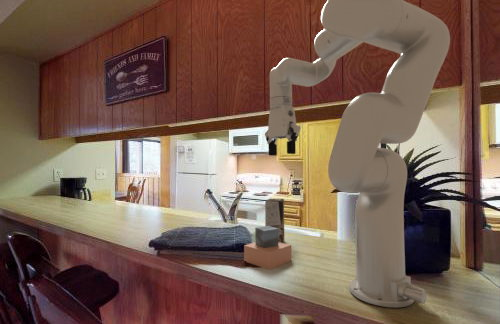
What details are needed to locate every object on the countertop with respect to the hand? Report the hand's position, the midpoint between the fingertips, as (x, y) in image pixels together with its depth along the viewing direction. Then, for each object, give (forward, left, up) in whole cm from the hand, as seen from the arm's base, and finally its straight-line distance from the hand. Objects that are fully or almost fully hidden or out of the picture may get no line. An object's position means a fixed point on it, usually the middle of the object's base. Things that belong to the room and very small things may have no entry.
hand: (281, 154), depth 91 cm
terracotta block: (-5, +10, -33) cm, 35 cm away
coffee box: (+9, -4, -32) cm, 34 cm away
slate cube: (-5, +10, -28) cm, 30 cm away
